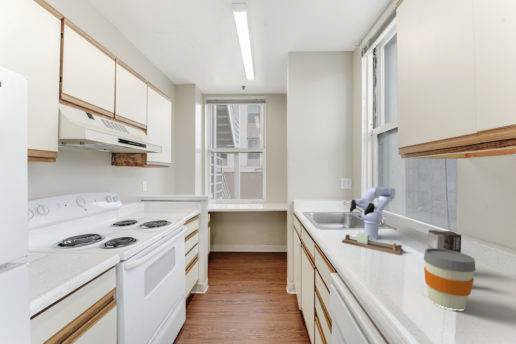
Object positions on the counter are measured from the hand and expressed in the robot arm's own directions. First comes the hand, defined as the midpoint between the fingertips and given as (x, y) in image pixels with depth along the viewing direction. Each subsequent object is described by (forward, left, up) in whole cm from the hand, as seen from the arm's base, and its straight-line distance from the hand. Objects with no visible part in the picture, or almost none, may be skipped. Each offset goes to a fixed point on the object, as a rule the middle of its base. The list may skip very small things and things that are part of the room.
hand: (357, 212), depth 133 cm
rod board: (-3, +7, -18) cm, 19 cm away
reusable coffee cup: (+41, +40, -18) cm, 60 cm away
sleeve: (-3, +3, -16) cm, 17 cm away
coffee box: (+11, +38, -18) cm, 43 cm away
